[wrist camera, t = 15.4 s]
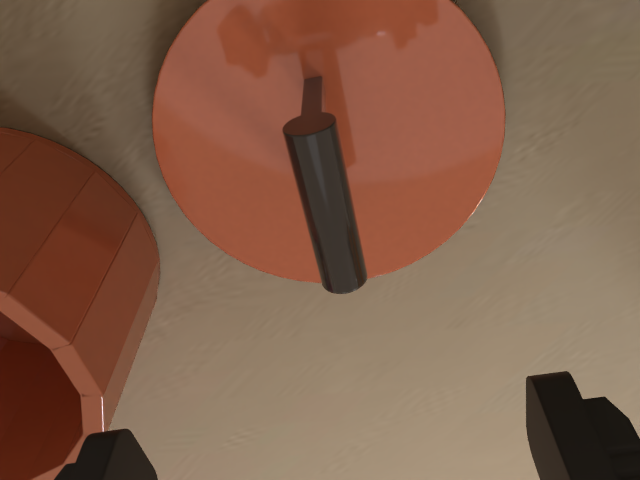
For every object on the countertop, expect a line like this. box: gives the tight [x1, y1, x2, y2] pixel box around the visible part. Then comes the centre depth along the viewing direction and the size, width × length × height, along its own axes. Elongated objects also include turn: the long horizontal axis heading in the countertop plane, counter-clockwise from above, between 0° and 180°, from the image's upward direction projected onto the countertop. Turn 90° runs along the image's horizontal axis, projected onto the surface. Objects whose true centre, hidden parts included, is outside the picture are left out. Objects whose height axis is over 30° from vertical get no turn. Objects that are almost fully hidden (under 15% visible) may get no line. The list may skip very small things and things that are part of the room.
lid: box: [152, 0, 506, 294], centre depth 21 cm, size 14×14×6 cm
